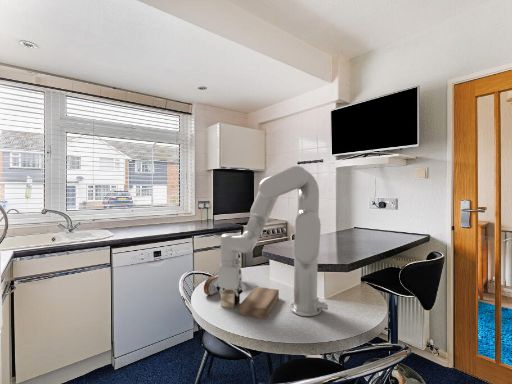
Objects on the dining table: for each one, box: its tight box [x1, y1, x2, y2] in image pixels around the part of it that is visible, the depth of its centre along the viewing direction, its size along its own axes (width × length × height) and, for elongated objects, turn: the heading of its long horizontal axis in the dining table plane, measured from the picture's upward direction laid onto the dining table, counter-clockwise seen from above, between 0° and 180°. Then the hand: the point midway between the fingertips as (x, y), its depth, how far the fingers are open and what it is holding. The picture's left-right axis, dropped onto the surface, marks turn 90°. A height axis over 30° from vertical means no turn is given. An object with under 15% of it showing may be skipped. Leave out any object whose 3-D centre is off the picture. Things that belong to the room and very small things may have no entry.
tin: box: [203, 273, 219, 296], centre depth 137 cm, size 15×3×8 cm, turn 149°
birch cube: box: [220, 288, 237, 309], centre depth 124 cm, size 6×6×6 cm
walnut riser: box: [238, 286, 280, 320], centre depth 123 cm, size 11×20×4 cm, turn 160°
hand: (229, 302), depth 124 cm, fingers closed on birch cube, 6 cm apart
